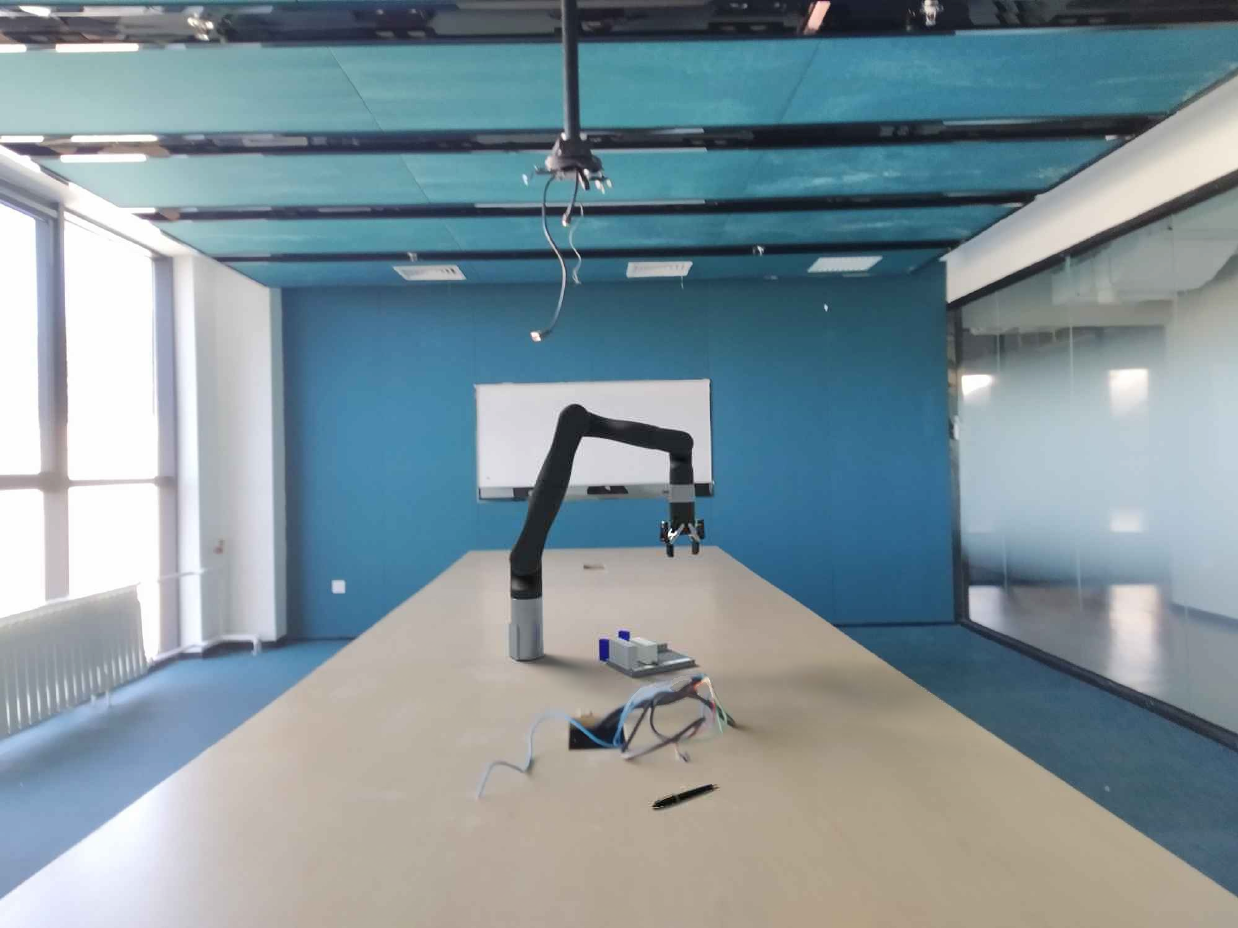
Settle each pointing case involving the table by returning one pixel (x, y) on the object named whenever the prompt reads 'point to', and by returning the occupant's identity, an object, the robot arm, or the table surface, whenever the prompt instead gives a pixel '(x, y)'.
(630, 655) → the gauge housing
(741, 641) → the table surface
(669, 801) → the fountain pen
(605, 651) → the cable clip
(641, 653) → the block
